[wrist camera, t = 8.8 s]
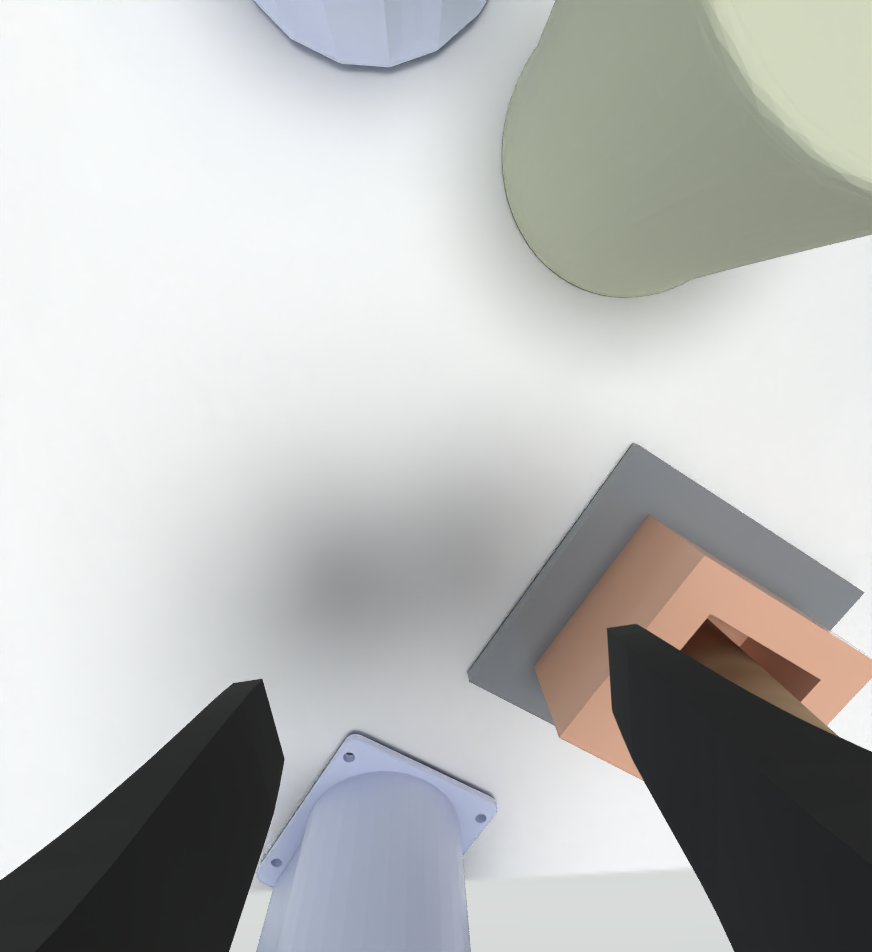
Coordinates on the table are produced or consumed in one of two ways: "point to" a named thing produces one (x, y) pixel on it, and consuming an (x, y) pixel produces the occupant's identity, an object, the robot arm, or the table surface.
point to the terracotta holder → (667, 605)
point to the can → (690, 137)
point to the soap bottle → (372, 27)
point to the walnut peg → (743, 670)
